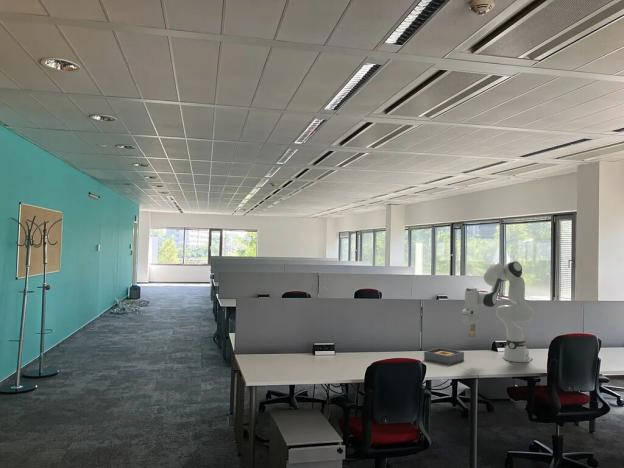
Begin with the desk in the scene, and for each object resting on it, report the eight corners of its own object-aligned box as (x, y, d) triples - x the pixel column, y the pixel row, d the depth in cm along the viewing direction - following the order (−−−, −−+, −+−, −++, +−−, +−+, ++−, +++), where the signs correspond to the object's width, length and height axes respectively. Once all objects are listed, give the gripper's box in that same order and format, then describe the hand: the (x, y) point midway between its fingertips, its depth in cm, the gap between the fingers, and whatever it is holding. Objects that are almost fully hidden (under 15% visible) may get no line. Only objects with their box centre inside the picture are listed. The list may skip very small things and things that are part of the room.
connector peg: (470, 335, 327) (470, 322, 327) (475, 336, 324) (475, 323, 324) (467, 336, 324) (467, 323, 324) (473, 337, 321) (472, 324, 321)
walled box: (439, 355, 344) (439, 347, 344) (464, 360, 330) (463, 352, 330) (424, 360, 330) (424, 351, 330) (449, 365, 316) (449, 356, 316)
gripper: (474, 309, 334) (474, 328, 334) (460, 311, 320) (460, 331, 319) (482, 309, 329) (482, 329, 329) (468, 312, 315) (468, 332, 315)
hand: (471, 330), depth 324 cm, fingers closed on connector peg, 4 cm apart
